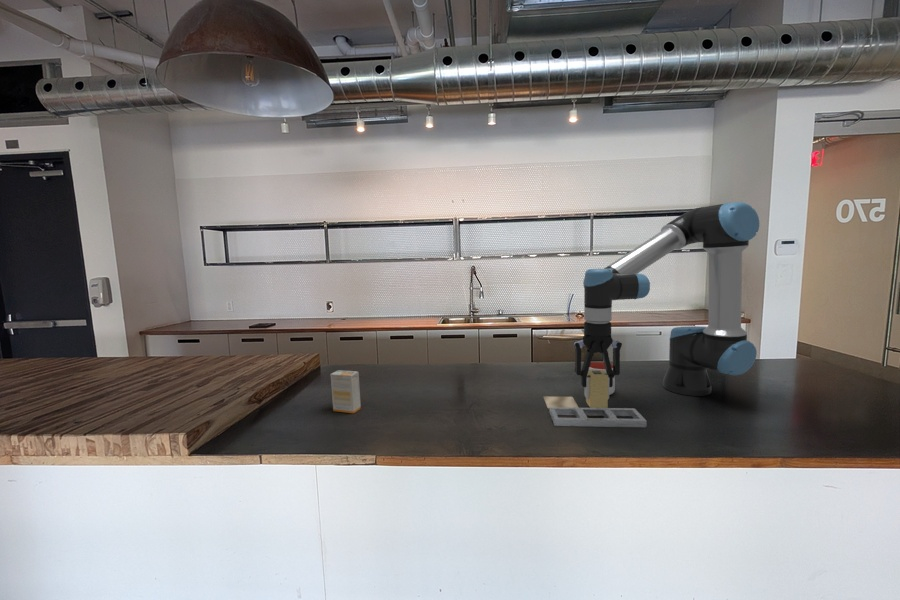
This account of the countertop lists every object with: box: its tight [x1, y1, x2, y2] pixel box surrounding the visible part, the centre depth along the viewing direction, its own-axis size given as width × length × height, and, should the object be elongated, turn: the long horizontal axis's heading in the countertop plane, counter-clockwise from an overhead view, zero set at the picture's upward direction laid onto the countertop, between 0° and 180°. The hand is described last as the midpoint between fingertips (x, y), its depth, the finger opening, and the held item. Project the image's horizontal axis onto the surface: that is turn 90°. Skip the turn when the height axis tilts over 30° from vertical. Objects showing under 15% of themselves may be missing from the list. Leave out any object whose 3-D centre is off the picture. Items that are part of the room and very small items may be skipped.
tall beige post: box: [585, 370, 609, 408], centre depth 114 cm, size 5×5×10 cm
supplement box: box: [330, 369, 362, 414], centre depth 127 cm, size 8×5×13 cm, turn 71°
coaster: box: [542, 396, 580, 410], centre depth 129 cm, size 10×10×1 cm
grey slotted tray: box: [549, 407, 648, 428], centre depth 115 cm, size 26×9×2 cm, turn 85°
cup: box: [589, 361, 616, 396], centre depth 138 cm, size 10×10×10 cm
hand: (596, 397), depth 115 cm, fingers closed on tall beige post, 5 cm apart
